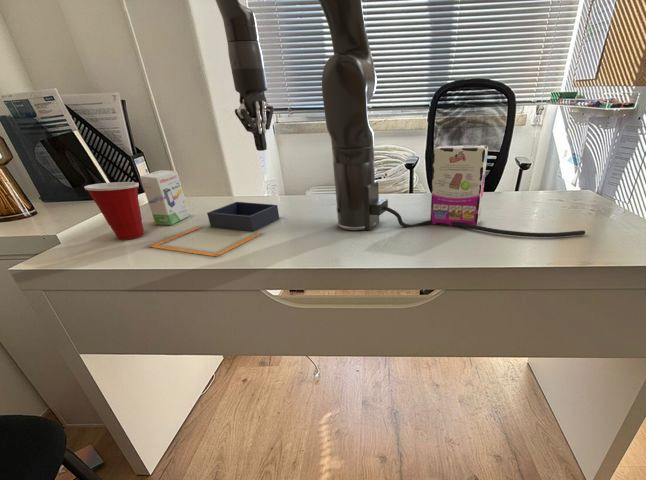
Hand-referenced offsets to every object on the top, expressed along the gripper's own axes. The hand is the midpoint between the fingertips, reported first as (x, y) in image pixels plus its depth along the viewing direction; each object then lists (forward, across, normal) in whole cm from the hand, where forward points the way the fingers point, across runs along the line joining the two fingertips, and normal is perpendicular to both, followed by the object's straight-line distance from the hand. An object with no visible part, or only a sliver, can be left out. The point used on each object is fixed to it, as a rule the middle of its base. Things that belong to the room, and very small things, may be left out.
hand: (261, 150), depth 100 cm
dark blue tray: (+15, -12, 0) cm, 19 cm away
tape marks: (+15, -26, 0) cm, 30 cm away
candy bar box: (+15, +2, -51) cm, 53 cm away
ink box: (+16, -16, +21) cm, 30 cm away
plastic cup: (+16, -29, +21) cm, 39 cm away
